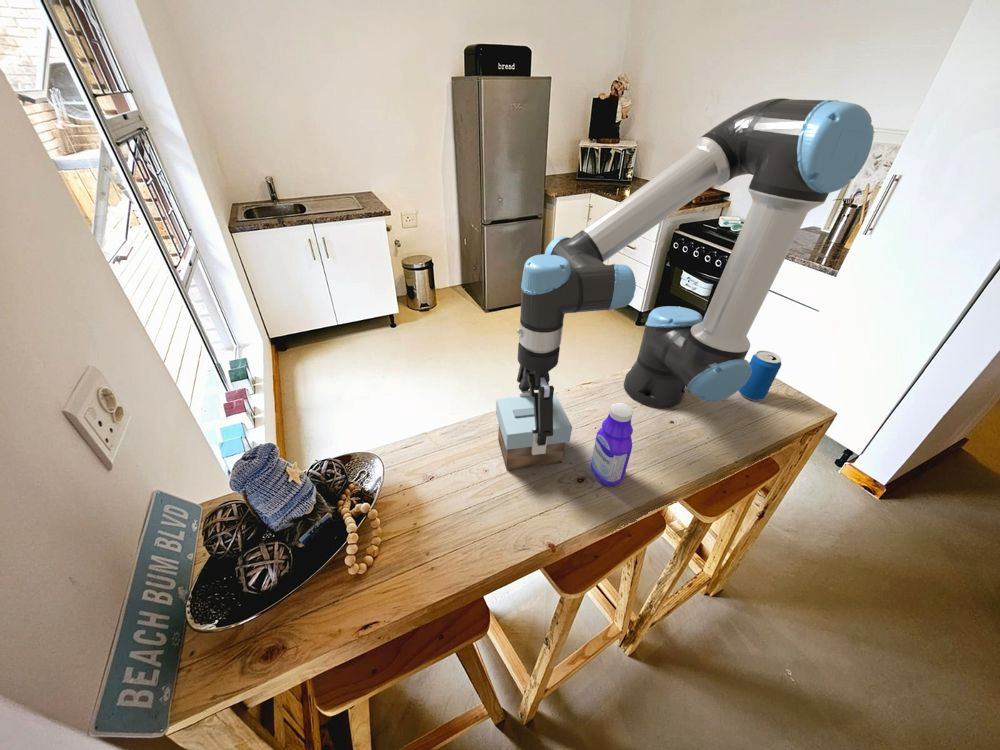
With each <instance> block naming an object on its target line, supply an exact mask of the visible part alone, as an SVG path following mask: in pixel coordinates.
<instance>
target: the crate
mask: <svg viewBox="0 0 1000 750" xmlns="http://www.w3.org/2000/svg"><path fill="white" fill-rule="evenodd" d="M497 436H498V437H497V438H498V439H497V440H498V443H499V444H498V445H499V448H500V451H501V452H500V453H501V454H502V455H501V456H502V459H503V462H504V466H505V469H506V471H509V470H518V469H524V468H532V467H533V468H534V467H538V466H539V467H540V466H546V465H547V466H548V465H554V464H562V463H563V457H564V451H565V446H566V445H565V444H566V442H565V443H557V444H549V445H546V453H545V454H538V455H532V453H531V451H532V447H524V448H516V449H508V450H506V447H505V443H504V440H503V436H502V433H501V429H500V426H499V425H498V435H497Z"/></svg>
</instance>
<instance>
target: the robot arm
mask: <svg viewBox="0 0 1000 750" xmlns="http://www.w3.org/2000/svg"><path fill="white" fill-rule="evenodd" d="M872 120H873V119H872V117H871V115H870V113H869V111H868V110H867V109H866V108H865V107H863V106H861V105H860V104H857V103H852V102H846V101H840V100H838V99H834V100H833V99H832V100H831V99H826V100H824V99H794V98H793V99H790V98H784V97H783V98H780V97H778V98H771V99H767V100H763V101H760V102H757V103H756V104H752V105H750V106H747V108H744V109H742V110H740V111H738V112H737V113H735V114H733V115H732V116H730V117H728V118H727V119H725V120H723V121H722V122H720V123H718V124H717V125H716V126H715V127H713V128H711V129H710V130H708V131H707V132H706V133H704V134H703V135H702V136H700V137H699V138H698V139H696V140H695V142H694V143H693V146H692V150H690V152H688V153H687V154H685V155H684V156H682V157H680V158H679V159H678V160H677V161H675V162H674V163H672V165H670V166H669V167H667V168H666V169H665V170H663V171H661V173H659V174H657V175H656V176H655V177H654V178H652V179H651V180H648V182H647V183H645V184H644V185H642V186H640V187H639V189H637V190H635V191H634V192H633V193H631V194H630V195H629V196H627V197H626V198H625V199H624V198H623V200H622V201H620V202H619V203H618V204H616V205H615V206H614V207H612V208H611V209H609V210H608V211H606V212H605V213H604V214H603V215H601V216H600V217H598V218H597V219H595V220H594V221H593V222H591V223H590V224H588V225H587V226H586V227H584V229H582V230H580V231H579V232H577V233H576V234H575V235H573V236H572V237H570V236H559V237H556V238H554V239H553V240H551V241H550V242H549V244H548V245H547V246H546V249H545V251H544V254H536V255H533V256H531V257H529V258H528V259H527V260H526V261H525V263H524V266H523V272H522V279H521V283H520V285H521V286H520V288H521V289H520V290H521V297H520V317H519V319H520V320H519V327H518V328H516V334H518V344H517V345H518V346H517V362H518V363H519V369H518V372H517V378H516V382H517V383H518V389H519V393H518V394H519V395H518V397H521V396H531V397H533V403H534V415H535V427H536V428H534V430H532V433H533V441H532V451H531V453H532V455H538V454H545V453H546V445H547V437H548V436H553V393H555V387H554V385H550V384H549V382H550V380H551V379H550V373H549V372H550V371H552V370H553V369H554V368H555V367H557V365H558V363H559V358H560V350H561V347H560V346H561V343H562V336H563V329H564V318H565V315H566V314H576V313H583V312H585V313H588V312H597V311H598V312H599V311H611V310H615V309H620V308H625V307H627V306H628V305H629V304H630V303H632V301H633V299H634V297H635V292H636V287H637V285H636V284H637V283H636V282H637V281H636V277H635V274H634V271H633V270H632V268H631V267H630V266H629V265H626V264H619V263H618V264H616V263H612V264H605V263H604V262H606V261H607V260H609V259H610V258H612V257H613V256H615V255H616V254H618V252H619V253H620V251H622V250H623V249H625V248H626V247H628V246H629V245H630V244H632V243H633V242H635V240H637V239H639V238H640V237H641V236H643V235H644V234H646V233H647V232H649V231H650V230H652V229H653V228H654V227H656V226H657V225H659V224H660V223H662V222H663V221H664V220H666V219H667V218H668V217H670V216H671V215H673V214H674V213H676V212H677V211H679V210H680V209H681V208H683V207H684V206H686V205H687V204H688V203H690V202H691V201H693V200H694V199H696V198H697V197H698V196H700V195H702V194H703V193H704V192H706V191H707V190H709V189H710V188H711V187H712V186H716V187H717V186H718V187H721V186H723V185H725V184H726V183H728V182H729V181H731V180H732V179H735V178H737V177H740V176H745V175H752V178H751V181H750V183H749V186H748V188H747V191H748V192H749V194H750V197H751V199H752V203H751V205H750V207H749V210H748V213H747V214H746V217H745V220H744V222H743V224H742V227H741V229H740V231H739V234H738V236H737V239H736V241H735V242H734V246H733V247H732V250H731V252H730V255H729V256H728V260H727V262H726V264H725V267H724V269H723V271H722V274H721V276H720V278H719V280H718V283H717V286H716V288H715V290H714V293H713V296H712V297H711V300H710V303H709V305H708V307H707V310H706V312H705V314H704V317H703V316H702V315H701V313H700V312H699V311H696V310H694V309H691V308H687V307H683V306H677V305H676V306H675V305H674V306H672V305H671V306H670V305H668V306H659V307H656V308H653V309H652V310H651V311H650V312H649V314H648V317H647V320H646V321H645V326H644V330H643V334H642V339H641V342H640V348H639V351H638V354H637V358H636V360H635V362H634V363H633V365H632V367H630V370H629V371H628V372H627V374H626V375H625V378H624V382H623V388H624V390H625V393H626V394H627V395H628V396H629V397H630V398H631V399H633V400H634V401H636V402H638V403H640V404H642V405H644V406H648V407H651V408H656V409H657V408H658V409H668V408H673V407H676V406H678V405H680V404H681V403H682V401H683V399H684V395H685V394H686V388H687V391H688V392H689V393H692V394H693V395H694V396H695V397H696V398H698V399H699V400H701V401H703V402H719V401H723V400H725V399H727V398H729V397H730V396H732V395H734V394H737V392H739V390H740V389H741V388H742V387H743V386H744V385H745V384H746V382H747V381H748V380H749V378H750V376H751V373H752V369H751V366H750V364H749V363H750V362H749V361H748V360H747V359H745V358H746V356H747V354H748V352H749V350H750V348H751V342H750V340H749V338H748V336H747V335H748V334H749V331H750V330H751V328H752V325H753V323H754V322H755V319H756V318H757V316H758V314H759V311H760V309H761V307H762V305H763V304H764V301H765V299H766V297H767V295H768V294H769V291H770V290H771V287H772V285H773V283H774V281H775V279H776V278H777V276H778V274H779V271H780V269H781V267H782V265H783V263H784V261H785V259H786V257H787V255H788V253H789V252H790V250H791V247H792V245H793V244H794V241H795V239H796V238H797V235H798V233H799V230H800V229H801V227H802V225H803V223H804V222H805V219H806V217H807V215H808V213H809V212H811V211H812V210H813V209H816V208H818V207H819V206H822V205H823V204H825V202H826V200H827V198H828V197H829V195H830V193H835V192H837V191H839V190H842V189H843V188H846V186H847V185H849V183H850V181H851V180H854V179H855V178H856V177H857V175H859V173H860V172H861V171H862V169H863V168H864V165H865V164H866V161H867V160H868V159H869V155H870V152H871V150H872V148H873V147H872V146H873V141H874V125H873V124H872ZM535 391H537V392H535Z"/></svg>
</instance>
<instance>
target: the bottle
mask: <svg viewBox="0 0 1000 750" xmlns="http://www.w3.org/2000/svg"><path fill="white" fill-rule="evenodd" d="M633 414H634V411H633V409H632V407H631V406H629V405H628V404H625V403H623V402H622V403H621V402H616V403H613V404H611V406H610V409H609V412H608V415H607V417H606V418H605V419H604V420H603V421H602V423H601V427H600V428H599V429H598V431H597V432H596V434H595V435H596V436H595V440H594V444H593V445H594V446H593V450H592V456H591V461H590V471H591V472H592V474H593V476H594V477H595V479H596V480H597V481H598V482H600V483H601V484H602V485H604V486H606V487H613V486H615V485H618V484H620V483H621V482H622V481H623V480H624V478H625V475H626V471H627V468H628V464H629V460H630V456H631V455H632V454H631V453H632V449H633V440H632V435H633V432H634V428H633V426H632V418H633Z"/></svg>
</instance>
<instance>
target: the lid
mask: <svg viewBox="0 0 1000 750" xmlns="http://www.w3.org/2000/svg"><path fill="white" fill-rule="evenodd" d="M495 401H496V402H495V415H496V418H497V422H498V427H499V426H500V429H501V433H502V436H503V440H504V443H505V447H506V450H508V449H516V448H524V447H532V441H533V433H532V430H534V428H536V427H535V415H534V403H533V397H531V396H521V397H519V396H513V397H512V396H511V397H502V398H496V400H495ZM572 431H573V425H572V423H571V422H570V420H569V418H568V416H567V413H566V411H565V410H564V408H563V406H562V404H561V402H560V400H559V397H558V396H557V393H556V392H554V393H553V436H548V437H547V445H549V444H557V443H565V444H566V443H570V442H571V438H572V437H571V436H572Z"/></svg>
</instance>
